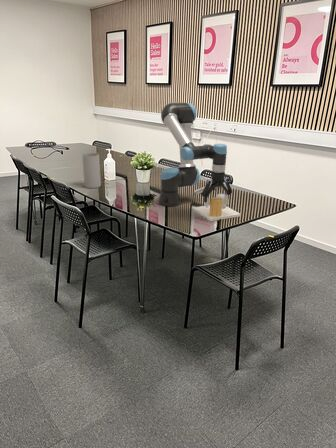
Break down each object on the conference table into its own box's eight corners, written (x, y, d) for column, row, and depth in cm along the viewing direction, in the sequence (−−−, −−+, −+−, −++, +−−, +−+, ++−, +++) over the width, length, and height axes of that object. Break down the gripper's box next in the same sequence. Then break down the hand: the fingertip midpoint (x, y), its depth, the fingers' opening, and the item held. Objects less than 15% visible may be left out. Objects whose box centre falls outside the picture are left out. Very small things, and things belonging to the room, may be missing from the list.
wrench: (193, 198, 251) (220, 186, 268) (195, 198, 250) (222, 187, 266) (193, 187, 247) (220, 176, 264) (195, 188, 246) (222, 177, 263)
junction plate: (192, 209, 218) (192, 195, 214) (221, 205, 226) (222, 191, 223) (209, 221, 199) (210, 206, 196) (240, 216, 208) (241, 201, 204)
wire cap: (207, 213, 207) (208, 198, 204) (217, 212, 210) (218, 196, 206) (213, 217, 201) (214, 201, 198) (223, 215, 204) (224, 200, 200)
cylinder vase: (102, 184, 271) (100, 153, 261) (98, 188, 259) (96, 156, 250) (87, 183, 272) (85, 152, 262) (82, 188, 260) (79, 155, 251)
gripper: (203, 174, 188) (201, 210, 196) (240, 170, 197) (236, 205, 205) (196, 171, 194) (195, 206, 202) (232, 168, 204) (229, 201, 212)
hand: (216, 205), depth 204 cm, fingers open, 13 cm apart
